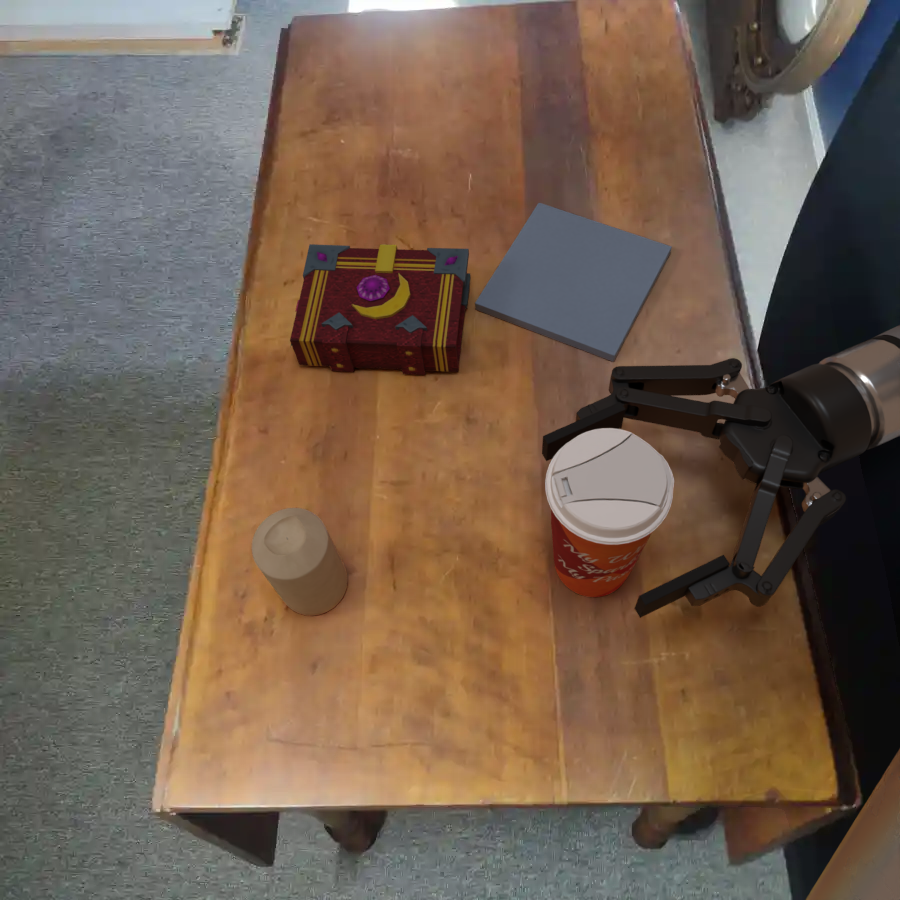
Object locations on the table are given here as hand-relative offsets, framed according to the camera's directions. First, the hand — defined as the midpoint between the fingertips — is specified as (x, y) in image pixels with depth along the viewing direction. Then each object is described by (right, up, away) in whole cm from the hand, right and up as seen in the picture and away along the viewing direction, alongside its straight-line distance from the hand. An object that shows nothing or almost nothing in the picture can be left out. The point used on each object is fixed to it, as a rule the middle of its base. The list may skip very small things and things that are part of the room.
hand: (589, 524), depth 60 cm
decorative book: (-16, +17, +20) cm, 31 cm away
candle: (-21, -5, +8) cm, 23 cm away
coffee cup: (+1, -4, +7) cm, 8 cm away
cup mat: (+2, +21, +21) cm, 30 cm away
